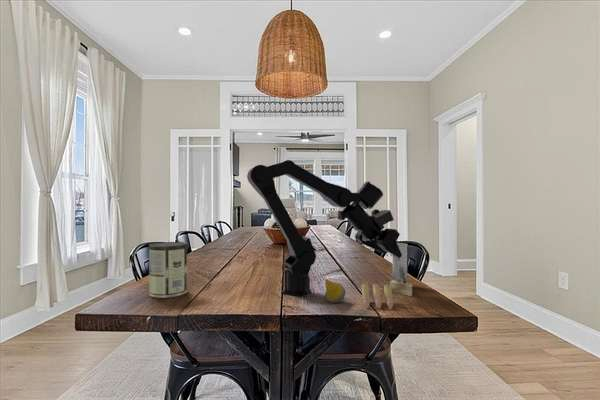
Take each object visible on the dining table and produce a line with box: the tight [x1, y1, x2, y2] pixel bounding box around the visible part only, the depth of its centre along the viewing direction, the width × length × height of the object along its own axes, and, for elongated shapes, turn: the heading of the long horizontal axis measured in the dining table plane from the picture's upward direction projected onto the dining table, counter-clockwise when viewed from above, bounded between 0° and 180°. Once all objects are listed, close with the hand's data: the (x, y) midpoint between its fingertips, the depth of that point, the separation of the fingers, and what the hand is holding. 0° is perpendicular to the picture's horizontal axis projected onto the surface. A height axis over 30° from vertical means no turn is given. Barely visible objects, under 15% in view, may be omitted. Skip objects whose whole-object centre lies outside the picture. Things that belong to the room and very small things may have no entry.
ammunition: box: [361, 283, 394, 310], centre depth 92 cm, size 5×7×8 cm
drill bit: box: [324, 278, 346, 304], centre depth 94 cm, size 5×5×10 cm
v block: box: [389, 278, 413, 297], centre depth 105 cm, size 5×9×3 cm, turn 3°
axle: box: [392, 242, 408, 284], centre depth 114 cm, size 4×4×13 cm
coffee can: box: [148, 241, 188, 299], centre depth 102 cm, size 10×10×14 cm
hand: (392, 254), depth 113 cm, fingers open, 9 cm apart
